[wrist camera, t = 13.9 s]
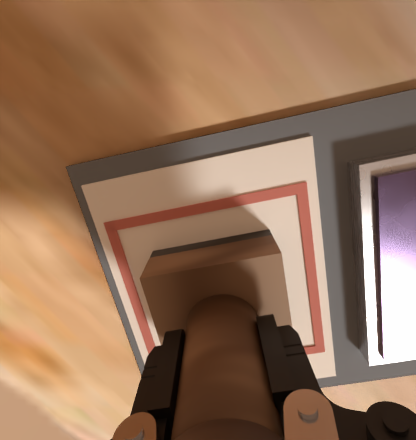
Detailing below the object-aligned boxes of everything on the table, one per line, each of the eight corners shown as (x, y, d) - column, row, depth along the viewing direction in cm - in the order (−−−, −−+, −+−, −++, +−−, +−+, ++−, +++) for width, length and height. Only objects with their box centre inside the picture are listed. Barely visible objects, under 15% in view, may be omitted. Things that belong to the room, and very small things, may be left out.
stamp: (269, 229, 14) (478, 632, 3) (284, 327, 16) (450, 810, 5) (152, 250, 15) (-49, 666, 3) (180, 344, 17) (107, 816, 5)
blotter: (581, 51, 12) (602, 47, 12) (531, 352, 17) (544, 361, 16) (69, 165, 14) (62, 167, 14) (155, 405, 19) (153, 415, 18)
